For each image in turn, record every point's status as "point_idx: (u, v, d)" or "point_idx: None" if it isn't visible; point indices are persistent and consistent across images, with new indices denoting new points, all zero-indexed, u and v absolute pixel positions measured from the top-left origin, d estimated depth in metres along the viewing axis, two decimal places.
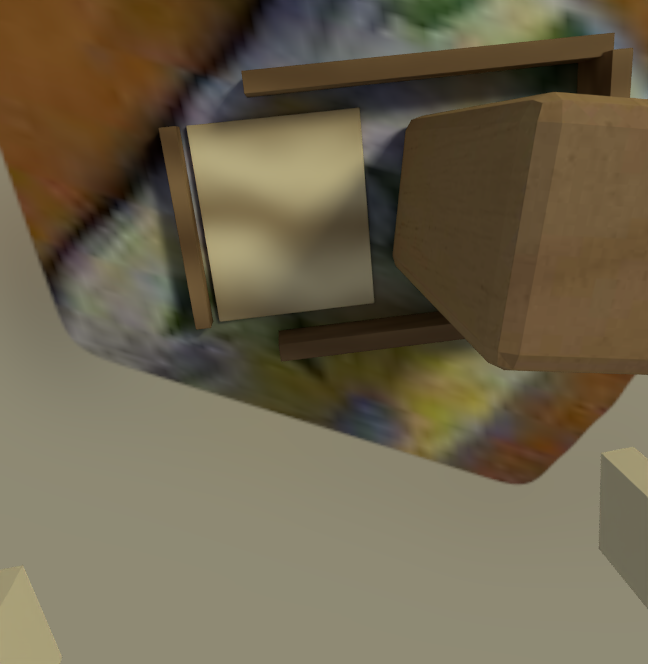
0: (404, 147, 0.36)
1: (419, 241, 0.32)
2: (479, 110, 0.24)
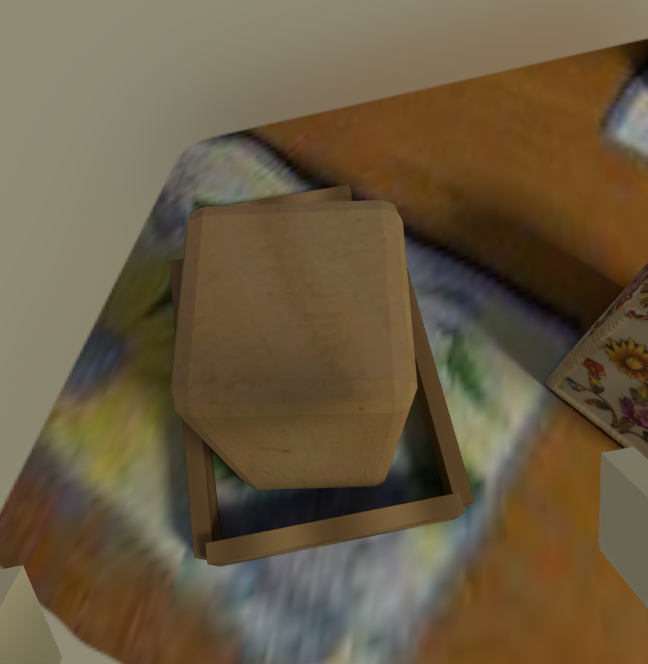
0: None
1: None
2: None
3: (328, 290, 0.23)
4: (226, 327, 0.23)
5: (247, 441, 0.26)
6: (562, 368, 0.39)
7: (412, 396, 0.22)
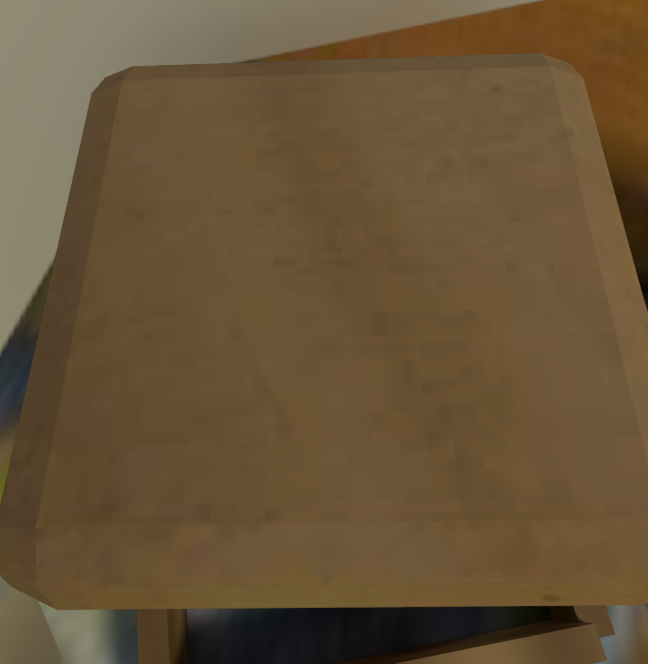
0: None
1: None
2: None
3: (435, 253, 0.09)
4: (162, 349, 0.08)
5: None
6: None
7: None
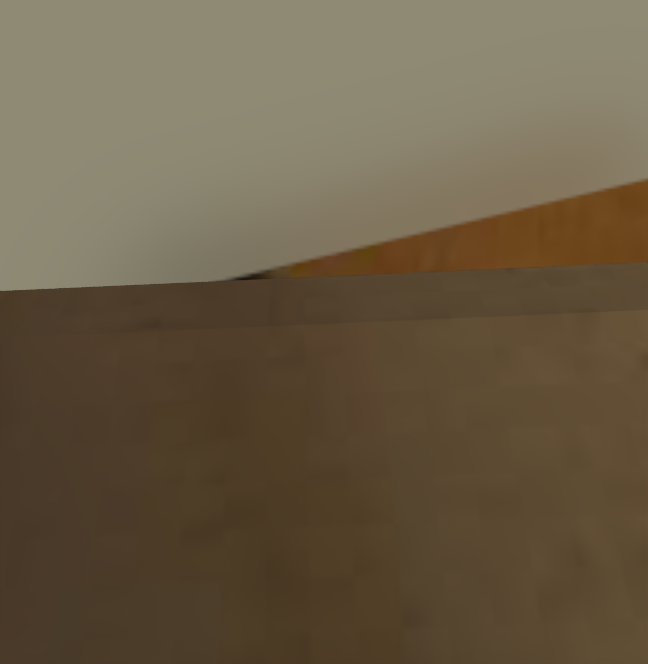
0: None
1: None
2: None
3: None
4: None
5: None
6: None
7: None
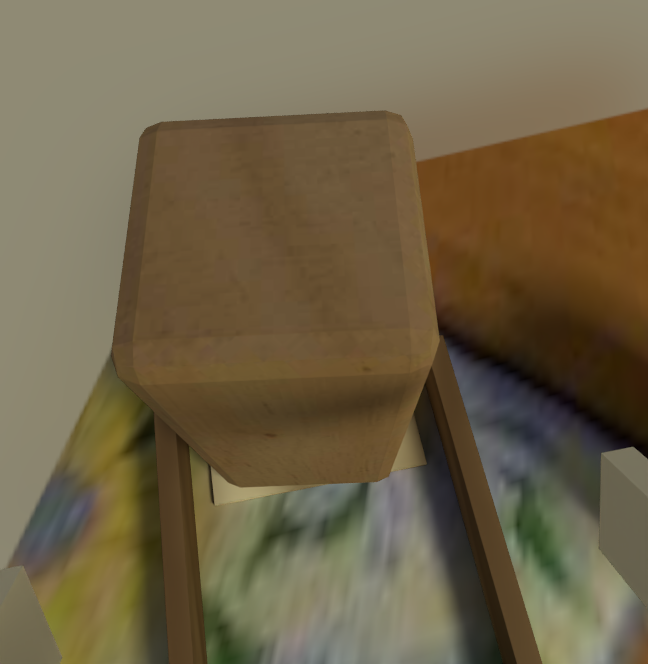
0: None
1: None
2: None
3: (319, 217, 0.18)
4: (185, 265, 0.17)
5: (219, 421, 0.21)
6: None
7: (433, 351, 0.17)
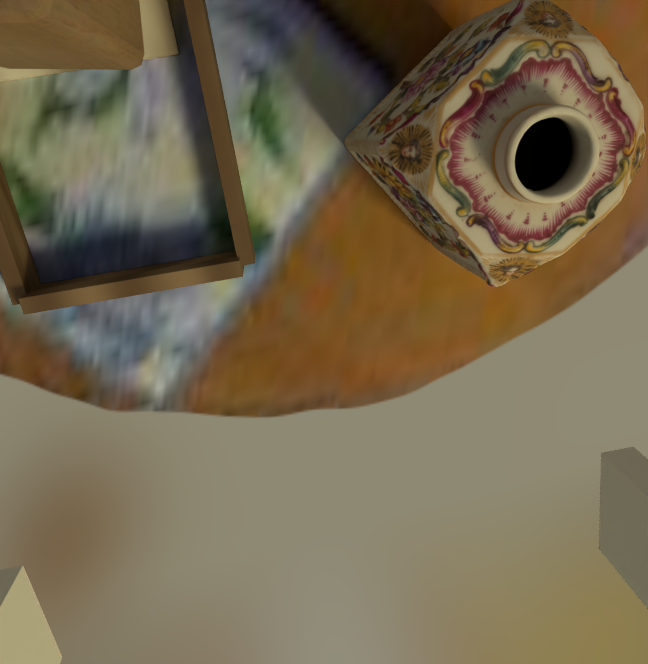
0: None
1: None
2: None
3: None
4: None
5: None
6: (350, 145, 0.40)
7: (47, 5, 0.22)
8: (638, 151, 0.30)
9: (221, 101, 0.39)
